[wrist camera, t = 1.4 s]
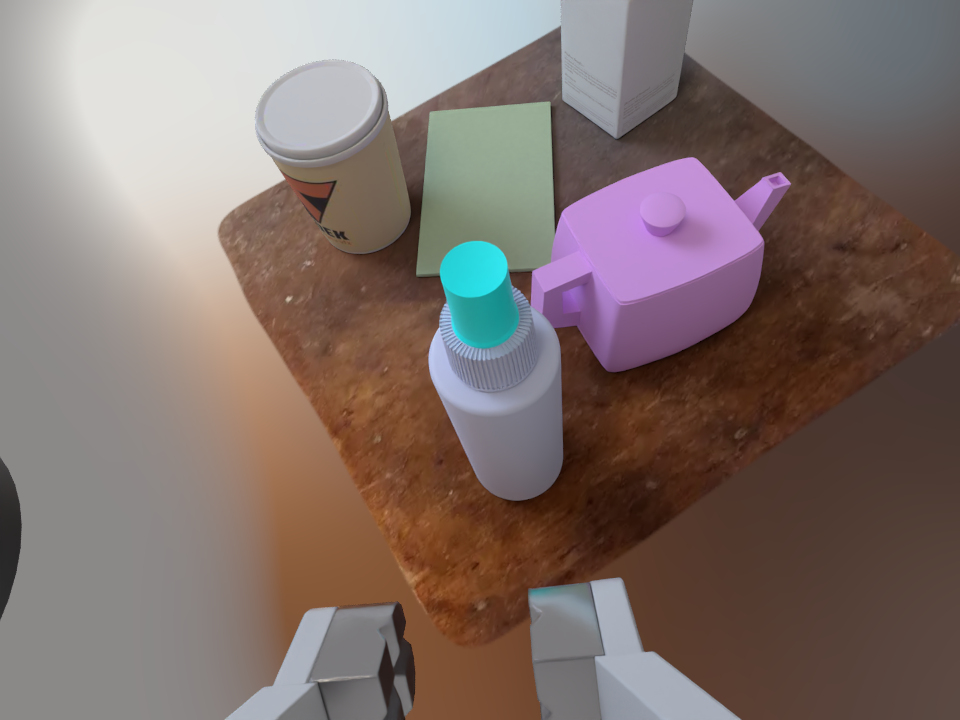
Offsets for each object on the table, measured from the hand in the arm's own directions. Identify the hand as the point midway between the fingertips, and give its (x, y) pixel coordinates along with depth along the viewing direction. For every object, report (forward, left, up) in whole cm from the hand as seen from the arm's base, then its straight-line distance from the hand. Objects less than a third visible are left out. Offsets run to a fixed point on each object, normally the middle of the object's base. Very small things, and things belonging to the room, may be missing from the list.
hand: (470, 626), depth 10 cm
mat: (-4, +36, -29) cm, 47 cm away
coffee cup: (-14, +34, -30) cm, 47 cm away
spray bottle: (-1, +12, -30) cm, 32 cm away
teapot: (+8, +24, -30) cm, 39 cm away
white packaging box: (+8, +45, -30) cm, 55 cm away
